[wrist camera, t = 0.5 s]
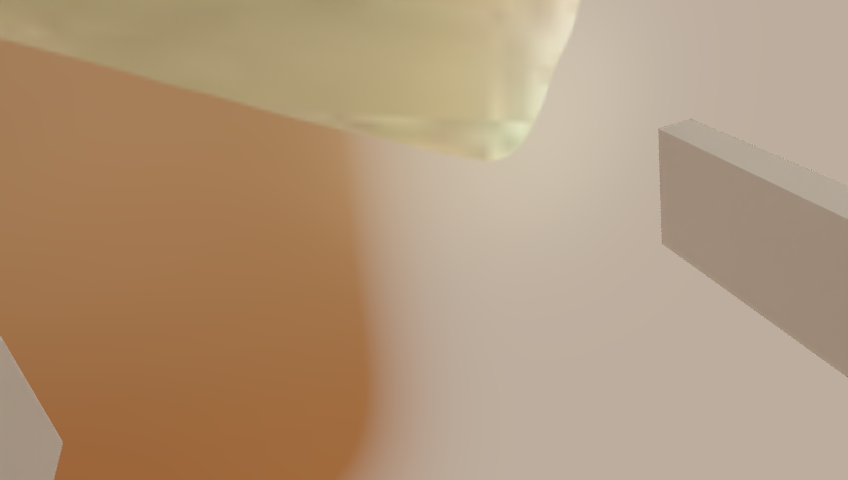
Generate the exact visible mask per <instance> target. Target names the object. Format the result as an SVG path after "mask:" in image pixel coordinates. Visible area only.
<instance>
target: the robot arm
mask: <svg viewBox="0 0 848 480" xmlns="http://www.w3.org/2000/svg"><path fill="white" fill-rule="evenodd" d="M658 130H659V162H660V194H661V226H662V227H661V228H662V244H663V245H665V246H666V247H668V248H669V249H670V250H672V251H673V252H675V253H676V254H677V255H679V256H680V257H681V258H683V259H684V260H686V261H687V262H688V263H690V264H691V265H693V266H694V267H695V268H697V269H698V270H700V271H701V272H702V273H704V274H705V275H706V276H708V277H709V278H711V279H712V280H714V281H715V282H716V283H718V284H719V285H720V286H722V287H723V288H725V289H726V290H727V291H729V292H730V293H731V294H733V295H734V296H736V297H737V298H738V299H740V300H741V301H743V302H744V303H745V304H747V305H748V306H750V307H751V308H752V309H754V310H755V311H756V312H758V313H759V314H761V315H762V316H764V317H765V318H766V319H767V320H769V321H770V322H772V323H773V324H774V325H776V326H777V327H779V328H780V329H781V330H783V331H784V332H785V333H787V334H788V335H790V336H791V337H793V338H794V339H795V340H797V341H798V342H799V343H801V344H802V345H804V346H805V347H806V348H808V349H809V350H811V351H812V352H813V353H815V354H816V355H817V356H819V357H820V358H822V359H823V360H824V361H826V362H827V363H829V364H830V365H831V366H833V367H834V368H835V369H837V370H838V371H840V372H841V373H842V374H844V375H845V376H846V377H848V186H847V185H845V184H842V183H840V182H837V181H835V180H833V179H830V178H828V177H826V176H823V175H821V174H819V173H817V172H814V171H812V170H809V169H807V168H805V167H802V166H800V165H798V164H795V163H793V162H791V161H788V160H786V159H784V158H781V157H779V156H777V155H774V154H772V153H769V152H767V151H765V150H763V149H760V148H758V147H756V146H753V145H751V144H749V143H746V142H744V141H741V140H739V139H737V138H735V137H732V136H730V135H728V134H725V133H723V132H721V131H718V130H716V129H714V128H711V127H709V126H707V125H704V124H702V123H700V122H697V121H695V120H693V119H689V120H685V121H682V122H679V123H676V124H672V125H669V126H665V127H662V128H659V129H658ZM62 444H63V442H62V440H61V438H60V437H59V435H58V433H57V431H56V430H55V428H54V426H53V425H52V423H51V421H50V420H49V418H48V416H47V414H46V413H45V411H44V409H43V408H42V406H41V404H40V402H39V401H38V399H37V397H36V396H35V394H34V392H33V390H32V389H31V387H30V385H29V384H28V382H27V380H26V379H25V377H24V375H23V373H22V372H21V370H20V368H19V367H18V365H17V363H16V361H15V360H14V358H13V356H12V354H11V353H10V351H9V349H8V348H7V346H6V344H5V343H4V341H3V339H2V337H1V336H0V480H54V476H55V473H56V469H57V464H58V460H59V456H60V452H61V448H62Z"/></svg>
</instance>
